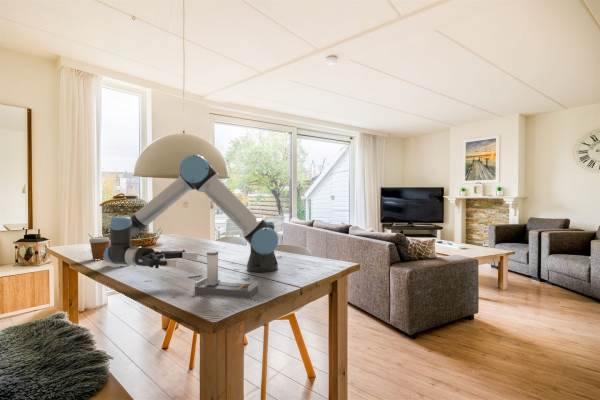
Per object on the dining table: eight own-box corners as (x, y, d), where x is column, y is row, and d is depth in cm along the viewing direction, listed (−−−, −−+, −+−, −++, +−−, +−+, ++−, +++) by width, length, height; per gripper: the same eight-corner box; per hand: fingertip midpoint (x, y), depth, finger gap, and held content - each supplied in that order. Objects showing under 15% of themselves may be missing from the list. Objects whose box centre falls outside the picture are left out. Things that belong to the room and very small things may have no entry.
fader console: (194, 293, 113) (194, 282, 113) (206, 286, 121) (206, 276, 121) (249, 298, 108) (249, 287, 108) (258, 291, 116) (258, 280, 115)
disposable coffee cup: (94, 261, 165) (93, 239, 165) (86, 259, 170) (85, 238, 170) (112, 258, 173) (112, 237, 173) (104, 256, 178) (104, 236, 178)
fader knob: (204, 284, 114) (203, 253, 114) (211, 281, 119) (210, 250, 118) (214, 285, 113) (214, 253, 113) (220, 281, 118) (220, 251, 117)
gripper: (161, 259, 136) (204, 262, 130) (115, 273, 111) (165, 277, 106) (161, 242, 135) (204, 244, 130) (115, 252, 111) (165, 256, 106)
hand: (186, 259), depth 118 cm, fingers open, 13 cm apart
